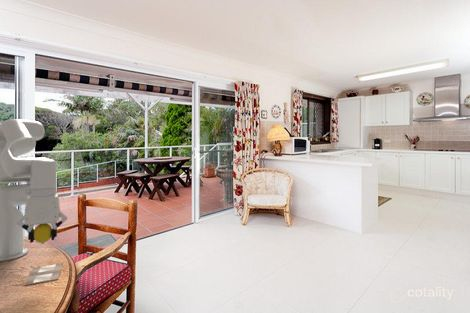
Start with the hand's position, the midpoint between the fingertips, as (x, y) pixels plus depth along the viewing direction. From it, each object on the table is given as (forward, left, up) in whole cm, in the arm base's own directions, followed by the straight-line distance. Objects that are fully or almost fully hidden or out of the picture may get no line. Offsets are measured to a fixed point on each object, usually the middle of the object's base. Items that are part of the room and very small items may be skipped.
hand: (42, 239), depth 91 cm
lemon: (0, 0, -2) cm, 2 cm away
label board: (-4, 0, -15) cm, 15 cm away
